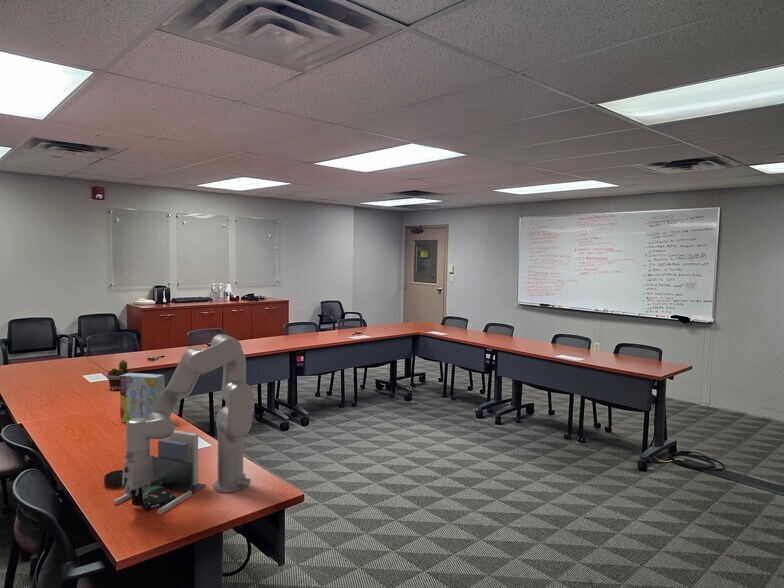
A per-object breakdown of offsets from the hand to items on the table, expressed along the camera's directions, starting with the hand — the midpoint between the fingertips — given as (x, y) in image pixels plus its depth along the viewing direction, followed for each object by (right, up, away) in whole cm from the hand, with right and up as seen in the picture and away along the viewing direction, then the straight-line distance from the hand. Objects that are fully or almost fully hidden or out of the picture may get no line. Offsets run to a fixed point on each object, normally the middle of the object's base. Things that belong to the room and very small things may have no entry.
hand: (137, 504), depth 179 cm
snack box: (-44, +5, +93) cm, 103 cm away
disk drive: (+3, -2, +7) cm, 8 cm away
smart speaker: (-18, 0, +19) cm, 26 cm away
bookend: (+6, 0, +19) cm, 20 cm away
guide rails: (+3, -1, +7) cm, 8 cm away
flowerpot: (-91, +11, +157) cm, 182 cm away
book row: (+6, 0, +18) cm, 19 cm away
